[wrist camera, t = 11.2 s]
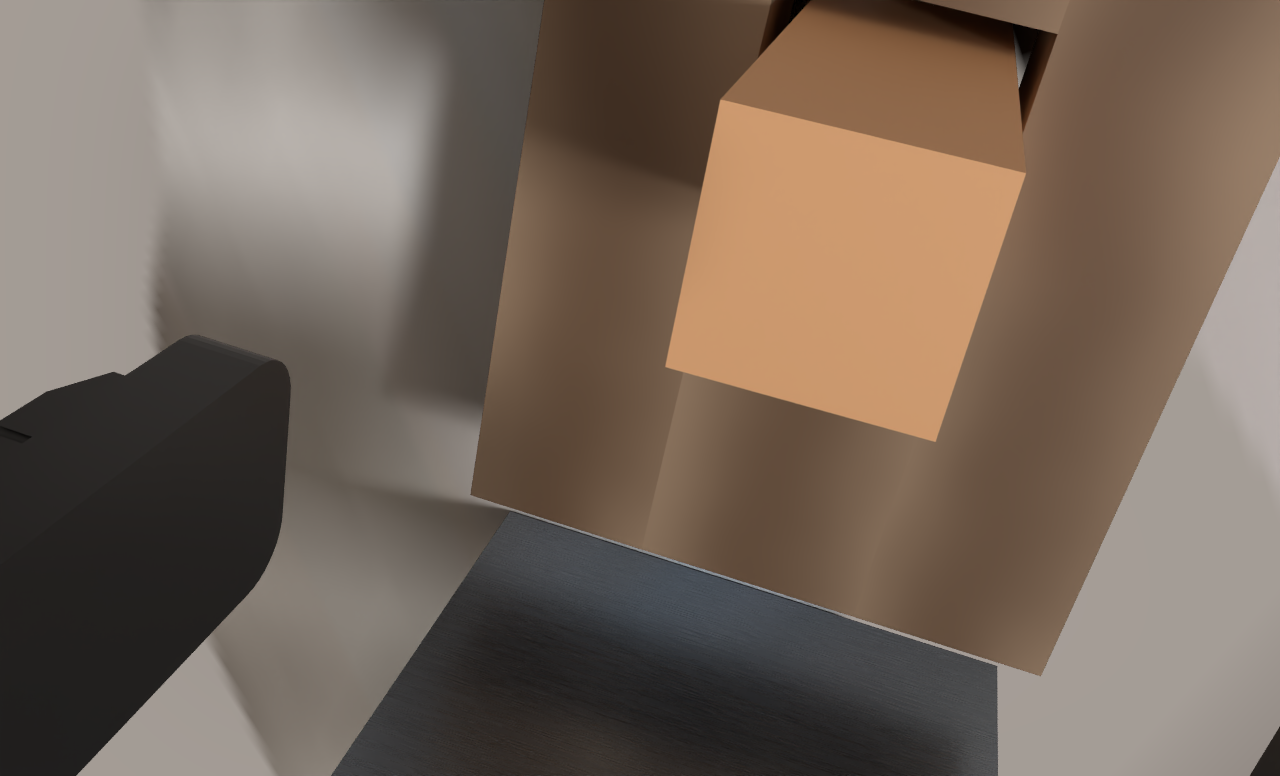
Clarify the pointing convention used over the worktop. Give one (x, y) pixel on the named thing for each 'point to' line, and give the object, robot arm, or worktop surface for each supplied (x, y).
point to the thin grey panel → (664, 679)
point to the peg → (855, 211)
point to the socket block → (995, 357)
